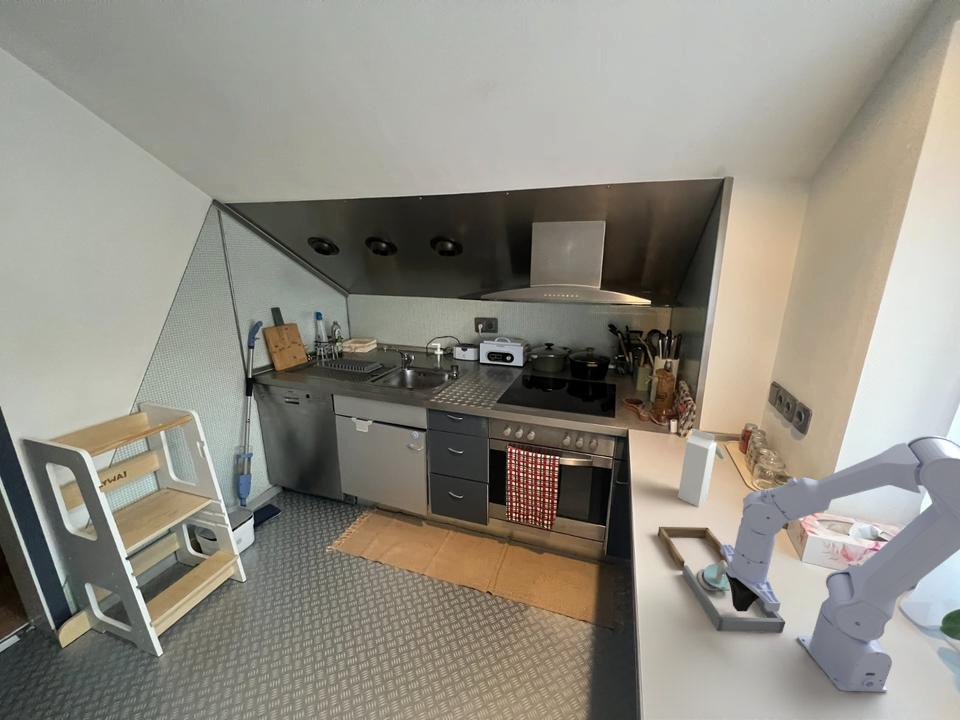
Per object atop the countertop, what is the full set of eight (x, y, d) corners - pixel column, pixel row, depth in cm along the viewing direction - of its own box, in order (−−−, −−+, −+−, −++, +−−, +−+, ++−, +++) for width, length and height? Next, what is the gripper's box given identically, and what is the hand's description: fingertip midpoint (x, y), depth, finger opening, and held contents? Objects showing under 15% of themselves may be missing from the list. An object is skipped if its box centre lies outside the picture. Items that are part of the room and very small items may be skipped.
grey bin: (782, 632, 75) (785, 621, 74) (717, 630, 75) (719, 620, 74) (737, 575, 88) (739, 566, 87) (682, 574, 88) (683, 565, 88)
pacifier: (697, 590, 84) (729, 600, 82) (701, 566, 83) (734, 575, 80) (696, 567, 91) (726, 576, 88) (700, 544, 89) (730, 553, 86)
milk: (698, 507, 112) (710, 439, 106) (677, 497, 117) (687, 431, 111) (706, 499, 116) (719, 432, 110) (686, 490, 120) (696, 425, 114)
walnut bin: (734, 571, 89) (736, 562, 89) (679, 570, 89) (681, 561, 89) (706, 535, 101) (707, 527, 100) (657, 534, 101) (659, 526, 100)
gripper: (710, 526, 81) (700, 579, 85) (757, 582, 67) (743, 642, 71) (744, 527, 81) (732, 579, 85) (798, 583, 67) (781, 643, 71)
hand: (739, 608), depth 78 cm, fingers closed
